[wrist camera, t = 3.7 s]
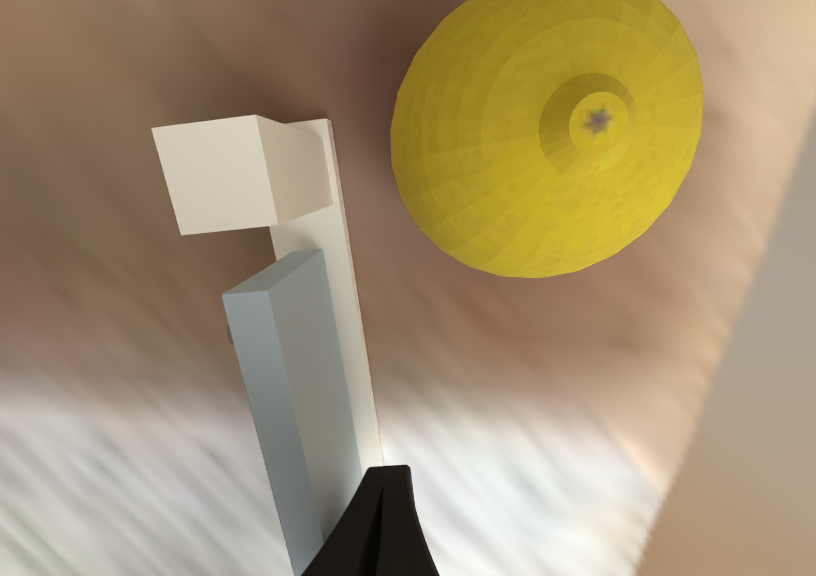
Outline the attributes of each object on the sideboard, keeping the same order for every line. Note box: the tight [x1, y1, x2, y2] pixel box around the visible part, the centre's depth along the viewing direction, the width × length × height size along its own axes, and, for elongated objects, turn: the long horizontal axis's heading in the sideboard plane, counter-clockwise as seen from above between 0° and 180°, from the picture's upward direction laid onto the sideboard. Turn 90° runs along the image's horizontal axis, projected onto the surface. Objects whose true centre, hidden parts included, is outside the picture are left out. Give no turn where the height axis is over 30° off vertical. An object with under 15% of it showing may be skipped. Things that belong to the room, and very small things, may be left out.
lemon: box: [390, 0, 704, 278], centre depth 8 cm, size 6×6×8 cm
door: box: [221, 249, 363, 576], centre depth 12 cm, size 12×2×5 cm, turn 6°
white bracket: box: [151, 115, 384, 476], centre depth 12 cm, size 18×2×5 cm, turn 6°
